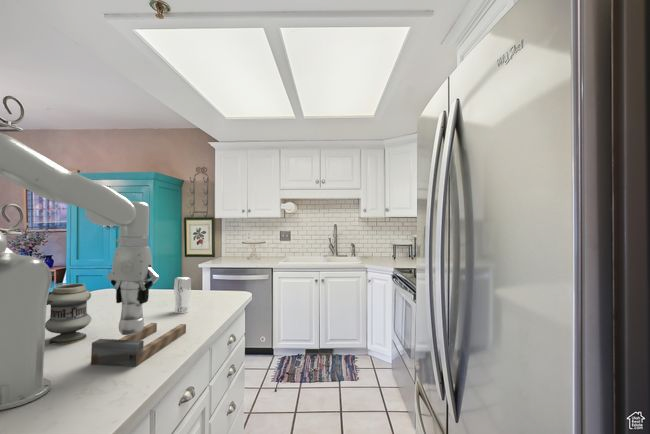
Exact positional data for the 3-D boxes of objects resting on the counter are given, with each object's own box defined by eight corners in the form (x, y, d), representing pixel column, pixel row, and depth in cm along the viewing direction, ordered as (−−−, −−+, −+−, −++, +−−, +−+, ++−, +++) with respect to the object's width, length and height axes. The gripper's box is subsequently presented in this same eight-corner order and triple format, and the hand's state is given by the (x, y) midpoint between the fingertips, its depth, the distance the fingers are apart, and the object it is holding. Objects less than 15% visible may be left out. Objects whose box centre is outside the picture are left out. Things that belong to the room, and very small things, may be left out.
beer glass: (173, 310, 144) (174, 277, 145) (189, 309, 147) (190, 276, 148) (172, 314, 138) (174, 279, 138) (190, 313, 141) (191, 279, 141)
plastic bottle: (132, 338, 91) (135, 269, 92) (112, 336, 93) (115, 267, 93) (149, 331, 98) (151, 266, 98) (130, 329, 99) (132, 265, 100)
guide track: (135, 366, 88) (136, 344, 88) (90, 364, 88) (91, 342, 89) (185, 332, 116) (186, 315, 116) (151, 331, 116) (151, 314, 117)
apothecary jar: (33, 344, 102) (36, 287, 102) (69, 332, 113) (71, 281, 114) (67, 347, 100) (69, 289, 100) (99, 334, 112) (101, 283, 112)
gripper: (97, 242, 93) (94, 304, 92) (154, 244, 92) (152, 306, 91) (115, 241, 100) (113, 298, 100) (168, 242, 99) (167, 300, 99)
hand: (132, 301), depth 95 cm, fingers closed on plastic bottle, 6 cm apart
